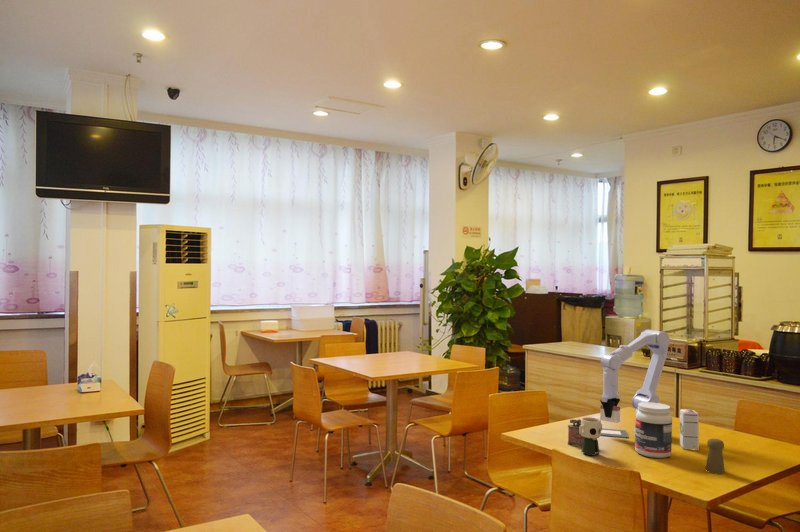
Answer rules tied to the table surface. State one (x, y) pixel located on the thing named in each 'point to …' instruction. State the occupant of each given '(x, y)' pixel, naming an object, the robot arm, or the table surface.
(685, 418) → the syrup box
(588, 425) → the character mug
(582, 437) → the lighter
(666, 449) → the supplement tub
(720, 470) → the grey pepper shaker
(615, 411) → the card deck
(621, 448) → the table surface
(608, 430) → the mat
